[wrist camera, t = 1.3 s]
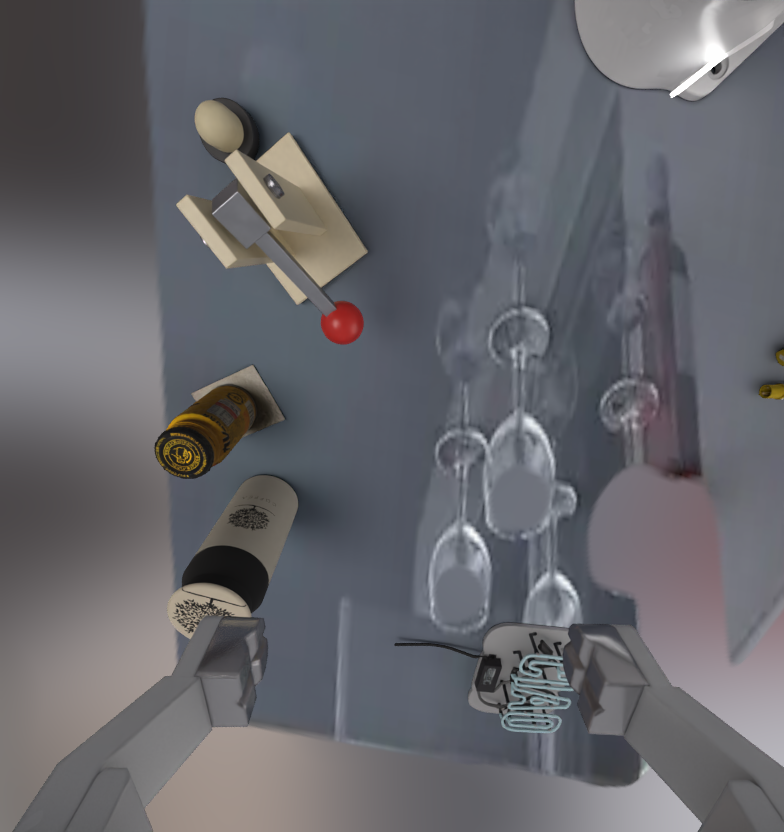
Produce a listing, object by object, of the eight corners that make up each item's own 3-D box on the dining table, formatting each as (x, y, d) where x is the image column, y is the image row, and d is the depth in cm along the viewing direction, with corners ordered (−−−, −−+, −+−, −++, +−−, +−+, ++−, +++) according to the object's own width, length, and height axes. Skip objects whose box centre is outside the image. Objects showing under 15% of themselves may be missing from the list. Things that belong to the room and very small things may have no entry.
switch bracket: (368, 252, 40) (350, 255, 25) (300, 303, 42) (244, 336, 27) (292, 135, 36) (214, 52, 21) (220, 198, 38) (102, 165, 23)
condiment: (191, 393, 46) (127, 438, 35) (253, 364, 45) (206, 402, 34) (226, 443, 49) (176, 501, 38) (285, 418, 47) (252, 470, 36)
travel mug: (285, 532, 54) (235, 658, 38) (229, 509, 53) (152, 629, 36) (308, 489, 51) (265, 605, 35) (250, 463, 50) (178, 571, 33)
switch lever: (366, 312, 36) (375, 336, 33) (334, 335, 36) (342, 360, 34) (244, 166, 25) (246, 186, 23) (204, 203, 26) (202, 225, 24)
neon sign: (399, 637, 56) (601, 656, 57) (399, 611, 60) (588, 630, 61) (382, 727, 64) (560, 742, 65) (383, 700, 68) (550, 714, 69)
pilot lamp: (234, 91, 35) (207, 65, 30) (270, 144, 37) (250, 128, 32) (196, 128, 36) (164, 109, 31) (232, 178, 38) (207, 167, 33)
